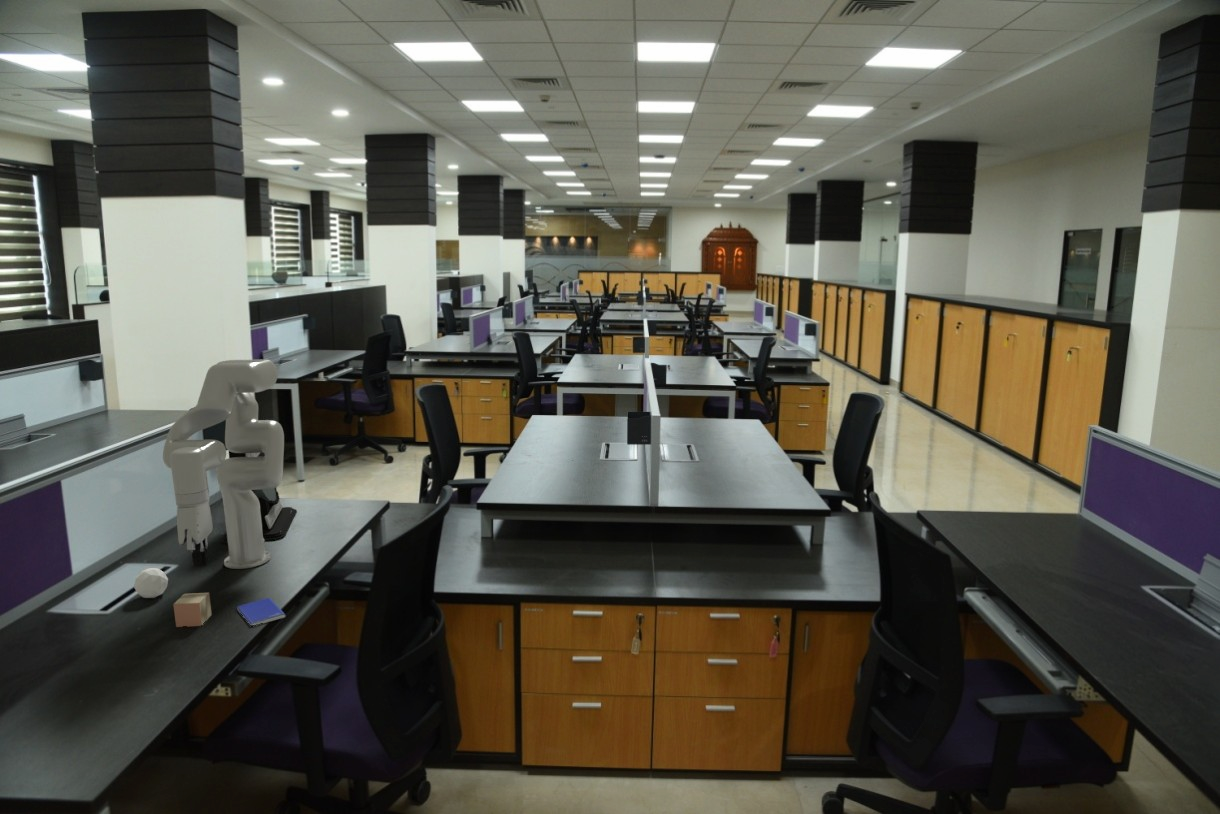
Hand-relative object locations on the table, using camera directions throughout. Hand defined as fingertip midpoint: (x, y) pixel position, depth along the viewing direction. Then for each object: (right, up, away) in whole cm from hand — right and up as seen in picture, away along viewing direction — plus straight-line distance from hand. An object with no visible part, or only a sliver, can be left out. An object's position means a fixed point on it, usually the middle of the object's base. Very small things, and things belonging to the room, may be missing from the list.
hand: (201, 564), depth 200 cm
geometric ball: (-18, -10, +9) cm, 22 cm away
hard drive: (+16, -13, -1) cm, 20 cm away
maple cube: (+1, -9, -3) cm, 10 cm away
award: (-12, 0, +62) cm, 63 cm away
